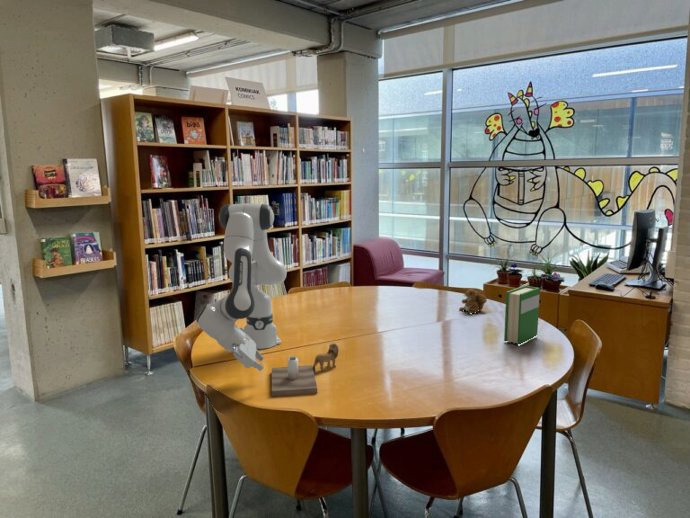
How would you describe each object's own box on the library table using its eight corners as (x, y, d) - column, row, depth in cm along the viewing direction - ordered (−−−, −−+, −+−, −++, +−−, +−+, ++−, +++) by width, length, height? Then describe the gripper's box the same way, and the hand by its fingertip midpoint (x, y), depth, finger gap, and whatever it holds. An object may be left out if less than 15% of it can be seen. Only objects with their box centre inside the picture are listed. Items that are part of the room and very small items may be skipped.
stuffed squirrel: (457, 310, 286) (458, 287, 284) (478, 308, 291) (479, 285, 289) (467, 314, 277) (468, 291, 275) (489, 312, 282) (490, 289, 279)
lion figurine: (331, 361, 209) (331, 340, 208) (342, 364, 206) (341, 343, 204) (308, 372, 197) (308, 350, 196) (319, 375, 194) (318, 353, 193)
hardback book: (519, 346, 225) (521, 294, 221) (504, 342, 230) (506, 291, 226) (537, 337, 237) (539, 288, 233) (522, 334, 242) (524, 285, 238)
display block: (271, 372, 198) (271, 367, 197) (312, 370, 200) (312, 365, 200) (272, 396, 176) (271, 391, 176) (317, 393, 179) (317, 387, 178)
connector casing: (287, 375, 190) (287, 355, 188) (298, 374, 190) (297, 354, 189) (288, 379, 186) (287, 359, 184) (298, 379, 186) (298, 358, 185)
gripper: (238, 343, 172) (268, 368, 175) (241, 326, 192) (268, 349, 195) (225, 356, 172) (255, 381, 175) (230, 337, 192) (257, 360, 195)
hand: (262, 364), depth 185 cm, fingers open, 8 cm apart
